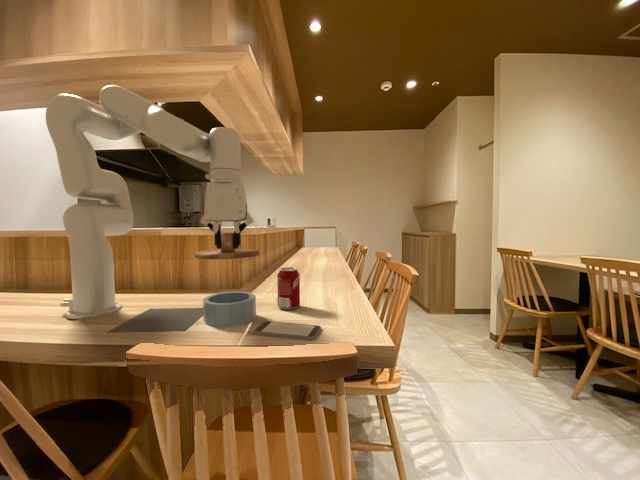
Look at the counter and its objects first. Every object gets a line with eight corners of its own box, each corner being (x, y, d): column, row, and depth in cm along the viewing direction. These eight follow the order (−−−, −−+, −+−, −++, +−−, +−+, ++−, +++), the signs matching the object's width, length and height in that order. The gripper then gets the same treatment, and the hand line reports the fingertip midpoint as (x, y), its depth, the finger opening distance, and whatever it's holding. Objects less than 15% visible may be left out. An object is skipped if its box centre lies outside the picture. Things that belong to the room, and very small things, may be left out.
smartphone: (265, 320, 72) (321, 325, 68) (265, 324, 72) (321, 330, 68) (251, 331, 65) (313, 337, 61) (251, 336, 65) (313, 342, 61)
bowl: (196, 329, 68) (195, 305, 67) (214, 312, 81) (213, 291, 80) (249, 328, 68) (249, 304, 68) (258, 311, 81) (258, 291, 81)
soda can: (289, 312, 80) (288, 271, 80) (273, 308, 85) (272, 269, 84) (304, 306, 86) (304, 268, 85) (288, 303, 90) (288, 266, 89)
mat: (106, 334, 64) (106, 332, 64) (150, 310, 82) (150, 308, 82) (185, 333, 65) (185, 330, 65) (211, 309, 83) (211, 307, 83)
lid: (184, 259, 65) (183, 234, 65) (208, 252, 81) (207, 232, 81) (252, 258, 66) (252, 233, 66) (263, 252, 82) (262, 231, 82)
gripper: (187, 175, 68) (190, 250, 69) (255, 175, 69) (257, 249, 70) (199, 180, 76) (201, 247, 77) (260, 180, 76) (261, 246, 77)
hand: (228, 247), depth 73 cm, fingers closed on lid, 3 cm apart
